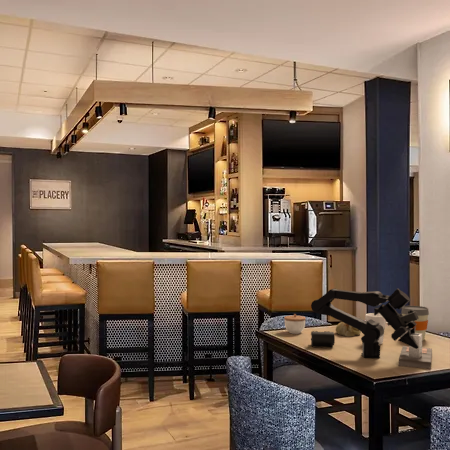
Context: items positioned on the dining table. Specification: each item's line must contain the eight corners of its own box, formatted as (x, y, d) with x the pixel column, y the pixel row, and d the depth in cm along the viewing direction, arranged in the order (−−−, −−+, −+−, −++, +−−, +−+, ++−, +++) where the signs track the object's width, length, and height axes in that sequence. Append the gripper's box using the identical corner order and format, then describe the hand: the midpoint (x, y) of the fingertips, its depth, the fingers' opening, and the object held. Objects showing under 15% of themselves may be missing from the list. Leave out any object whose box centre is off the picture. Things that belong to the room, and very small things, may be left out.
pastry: (356, 338, 267) (356, 321, 267) (331, 335, 274) (331, 319, 274) (364, 333, 280) (364, 317, 279) (340, 330, 286) (341, 314, 286)
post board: (430, 368, 213) (431, 353, 213) (398, 365, 218) (398, 350, 218) (432, 354, 236) (432, 340, 236) (402, 351, 240) (402, 338, 240)
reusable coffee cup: (414, 342, 258) (414, 310, 258) (395, 337, 270) (395, 306, 269) (434, 340, 263) (434, 308, 263) (415, 334, 275) (415, 305, 274)
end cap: (312, 348, 246) (312, 333, 246) (310, 344, 253) (310, 329, 253) (334, 348, 246) (334, 333, 246) (331, 344, 253) (331, 330, 253)
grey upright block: (408, 357, 221) (409, 334, 221) (411, 354, 225) (412, 332, 225) (419, 358, 219) (419, 336, 219) (422, 355, 223) (422, 333, 223)
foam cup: (361, 341, 260) (361, 313, 260) (377, 339, 264) (377, 312, 263) (374, 345, 251) (374, 317, 251) (390, 343, 255) (390, 315, 255)
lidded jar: (288, 329, 286) (288, 311, 286) (308, 331, 282) (308, 313, 281) (281, 333, 276) (281, 314, 276) (301, 335, 272) (302, 316, 272)
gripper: (399, 307, 216) (428, 338, 210) (411, 301, 232) (439, 330, 226) (379, 325, 220) (407, 356, 215) (392, 317, 236) (419, 347, 230)
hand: (419, 346), depth 221 cm, fingers closed on grey upright block, 5 cm apart
